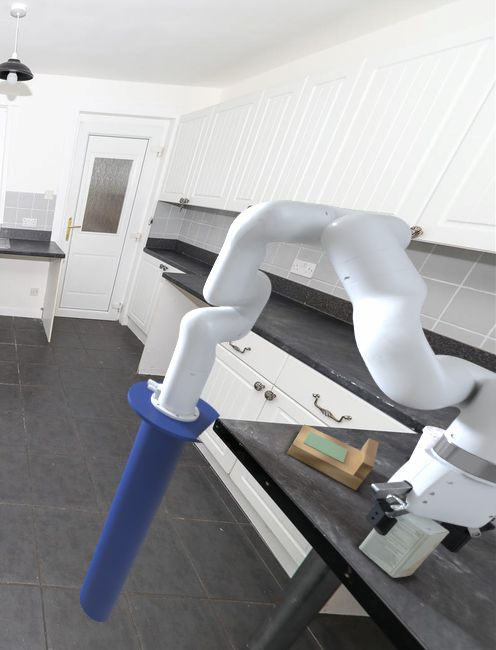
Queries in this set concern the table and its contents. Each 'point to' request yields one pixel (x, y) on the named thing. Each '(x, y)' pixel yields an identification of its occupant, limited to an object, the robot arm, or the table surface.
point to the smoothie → (428, 439)
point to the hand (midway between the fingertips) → (408, 535)
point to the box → (404, 544)
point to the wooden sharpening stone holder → (334, 456)
